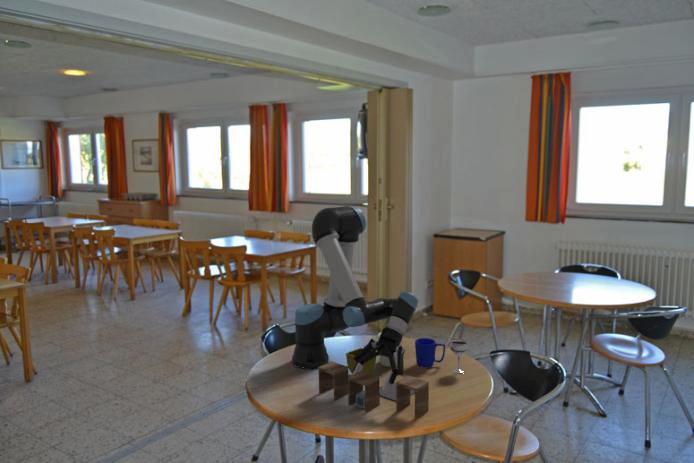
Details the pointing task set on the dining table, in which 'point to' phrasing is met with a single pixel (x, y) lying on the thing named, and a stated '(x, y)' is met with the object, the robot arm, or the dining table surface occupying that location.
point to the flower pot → (367, 366)
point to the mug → (426, 352)
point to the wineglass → (459, 350)
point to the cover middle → (371, 389)
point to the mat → (392, 392)
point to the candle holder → (385, 360)
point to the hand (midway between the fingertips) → (368, 386)
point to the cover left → (333, 379)
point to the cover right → (420, 394)
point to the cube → (360, 399)
